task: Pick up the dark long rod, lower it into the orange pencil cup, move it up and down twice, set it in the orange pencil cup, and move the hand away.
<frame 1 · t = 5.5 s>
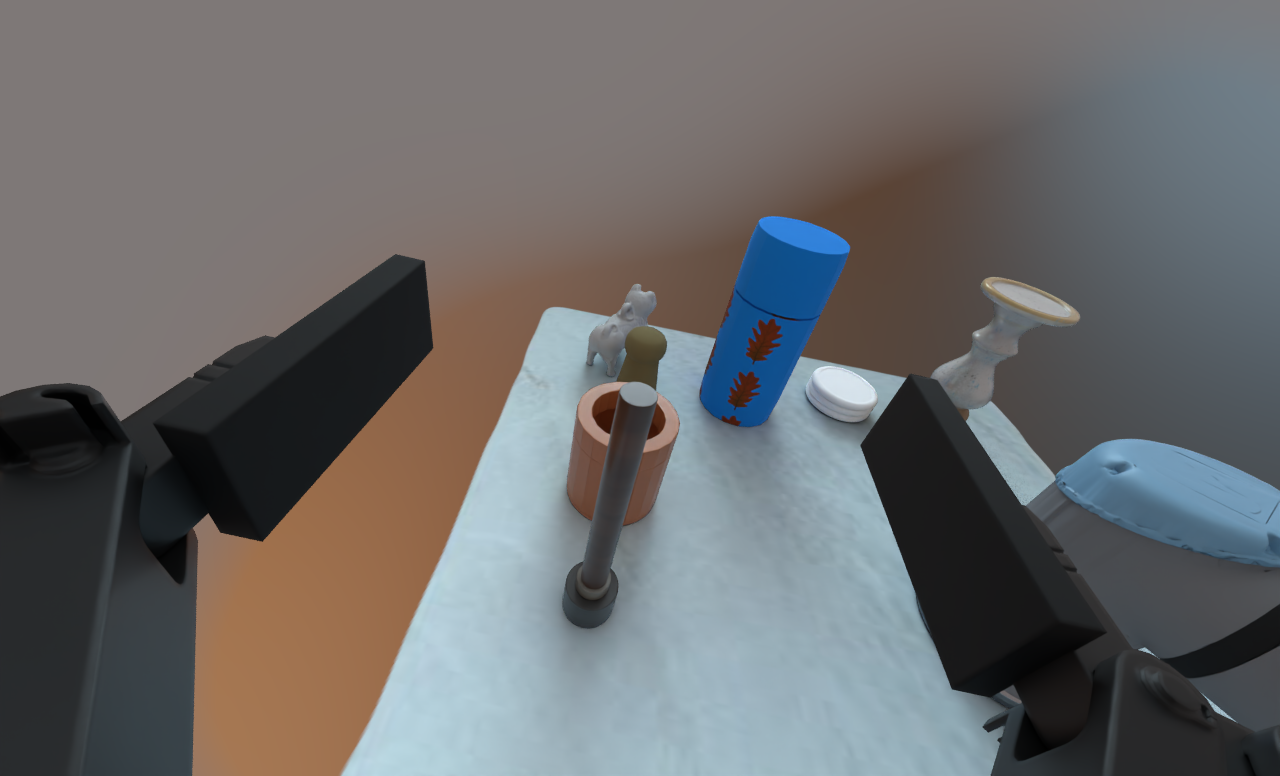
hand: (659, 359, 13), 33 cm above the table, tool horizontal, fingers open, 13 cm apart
dark long rod: (587, 602, 41), on the table
orange pencil cup: (611, 487, 51), on the table
dog figurine: (616, 357, 71), on the table
candle holder: (916, 442, 68), on the table
olive pawn: (632, 401, 63), on the table
coaster: (835, 402, 72), on the table
thermos: (733, 402, 67), on the table
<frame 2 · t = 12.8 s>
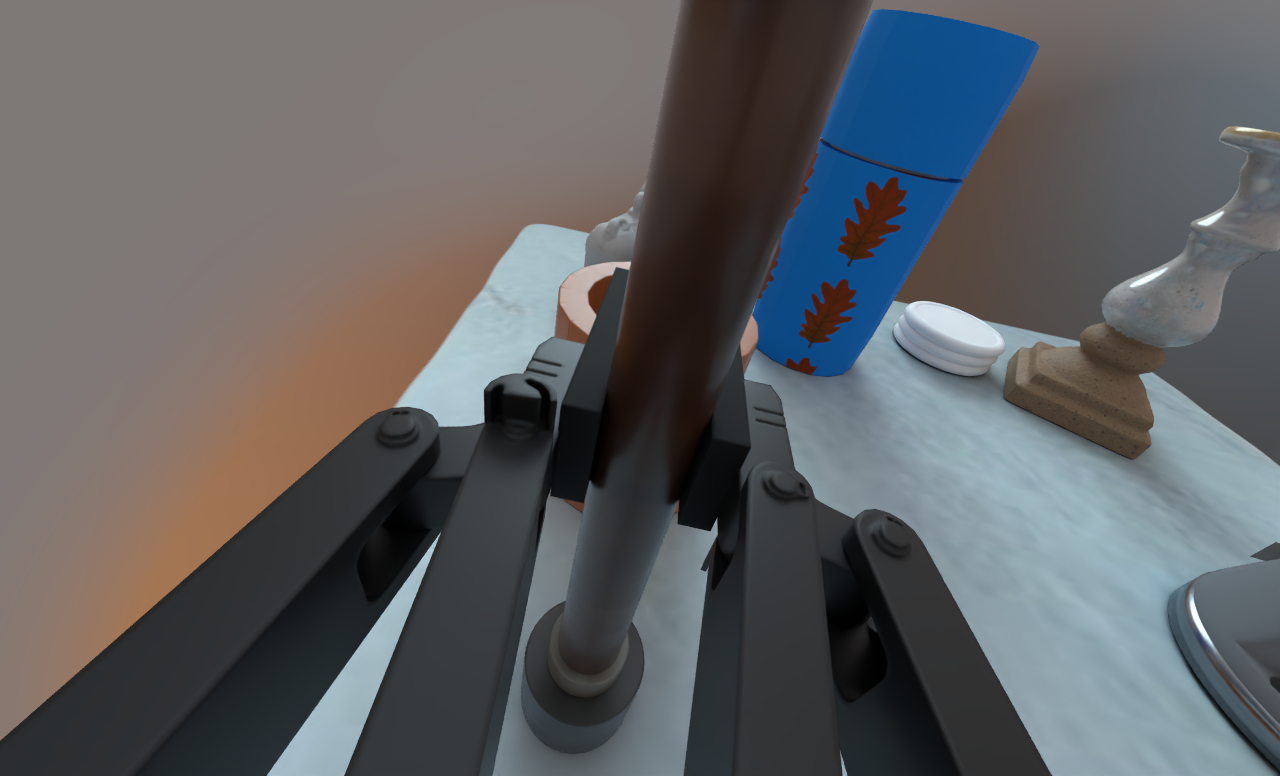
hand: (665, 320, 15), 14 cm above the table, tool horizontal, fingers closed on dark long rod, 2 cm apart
dark long rod: (576, 687, 19), on the table, touching gripper
orange pencil cup: (622, 458, 29), on the table
dog figurine: (626, 283, 49), on the table
candle holder: (1062, 405, 47), on the table
coaster: (936, 351, 51), on the table
thermos: (798, 345, 46), on the table
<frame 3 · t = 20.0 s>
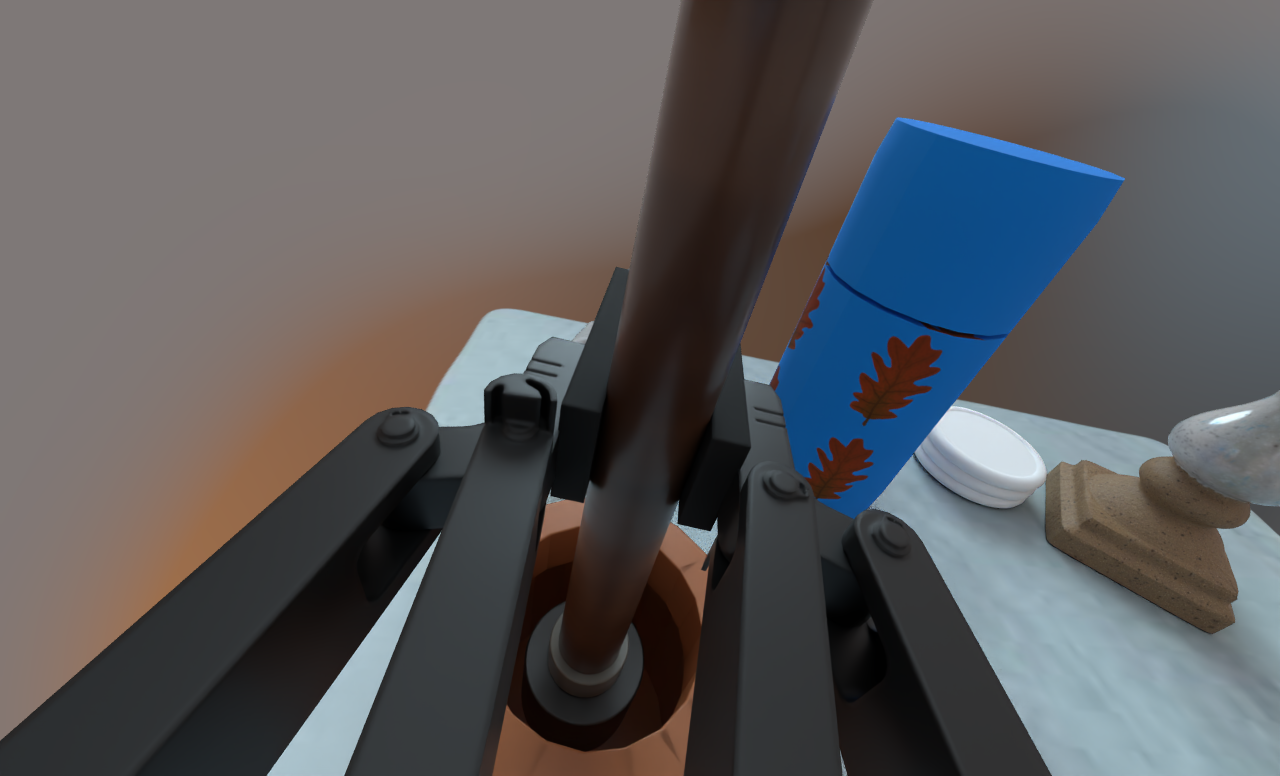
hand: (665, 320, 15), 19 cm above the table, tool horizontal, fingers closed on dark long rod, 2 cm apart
dark long rod: (576, 687, 19), point 5 cm above the table, touching gripper
orange pencil cup: (567, 726, 22), on the table
candle holder: (1115, 543, 39), on the table
coaster: (962, 468, 43), on the table
thermos: (800, 476, 38), on the table
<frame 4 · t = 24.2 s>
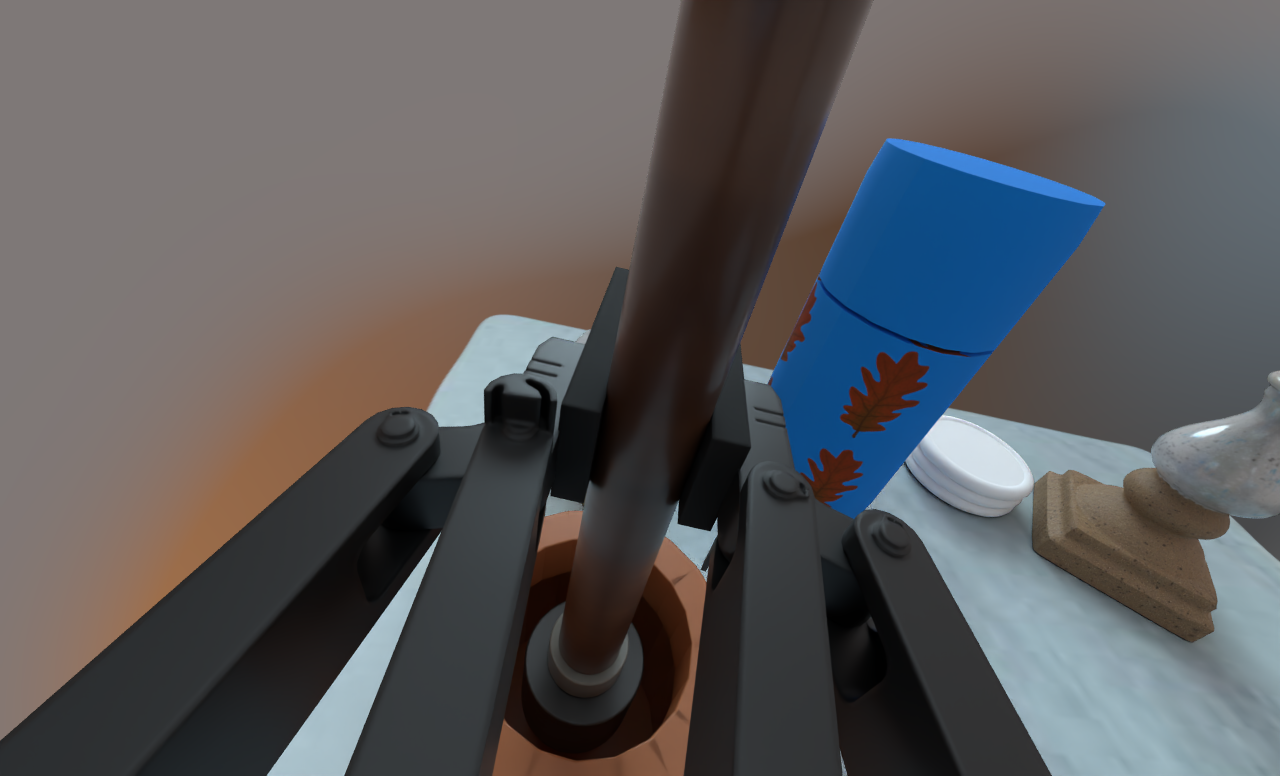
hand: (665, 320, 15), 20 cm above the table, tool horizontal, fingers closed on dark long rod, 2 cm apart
dark long rod: (576, 687, 19), point 6 cm above the table, touching gripper
orange pencil cup: (561, 732, 23), on the table
candle holder: (1100, 552, 40), on the table
coaster: (951, 476, 44), on the table
thermos: (793, 484, 39), on the table
when the fingers open (15 cm above the table, at t = 27.3 s): dark long rod stays where it is, resting on orange pencil cup.
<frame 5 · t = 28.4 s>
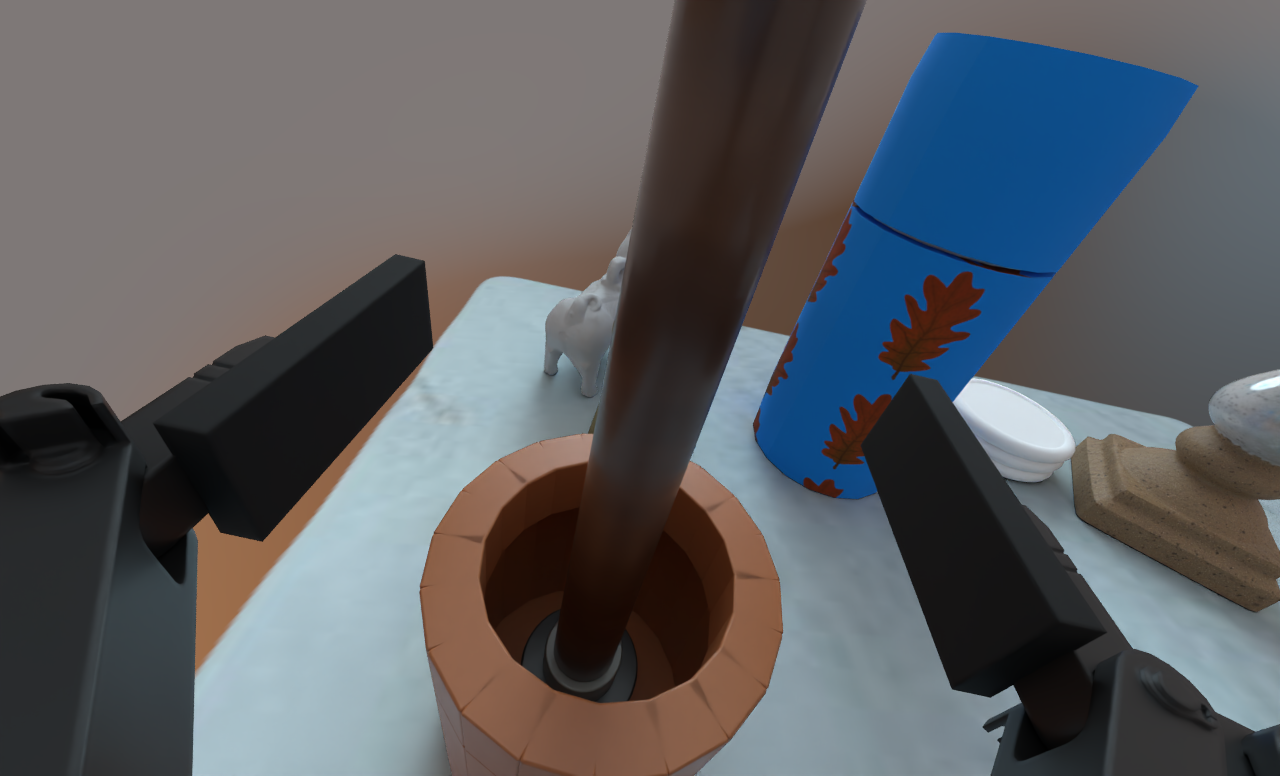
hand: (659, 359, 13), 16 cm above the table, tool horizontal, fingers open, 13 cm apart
dark long rod: (571, 693, 19), point 1 cm above the table, touching orange pencil cup
orange pencil cup: (572, 698, 20), on the table
dog figurine: (601, 360, 40), on the table
candle holder: (1147, 520, 37), on the table
coaster: (983, 442, 41), on the table
thermos: (816, 446, 36), on the table
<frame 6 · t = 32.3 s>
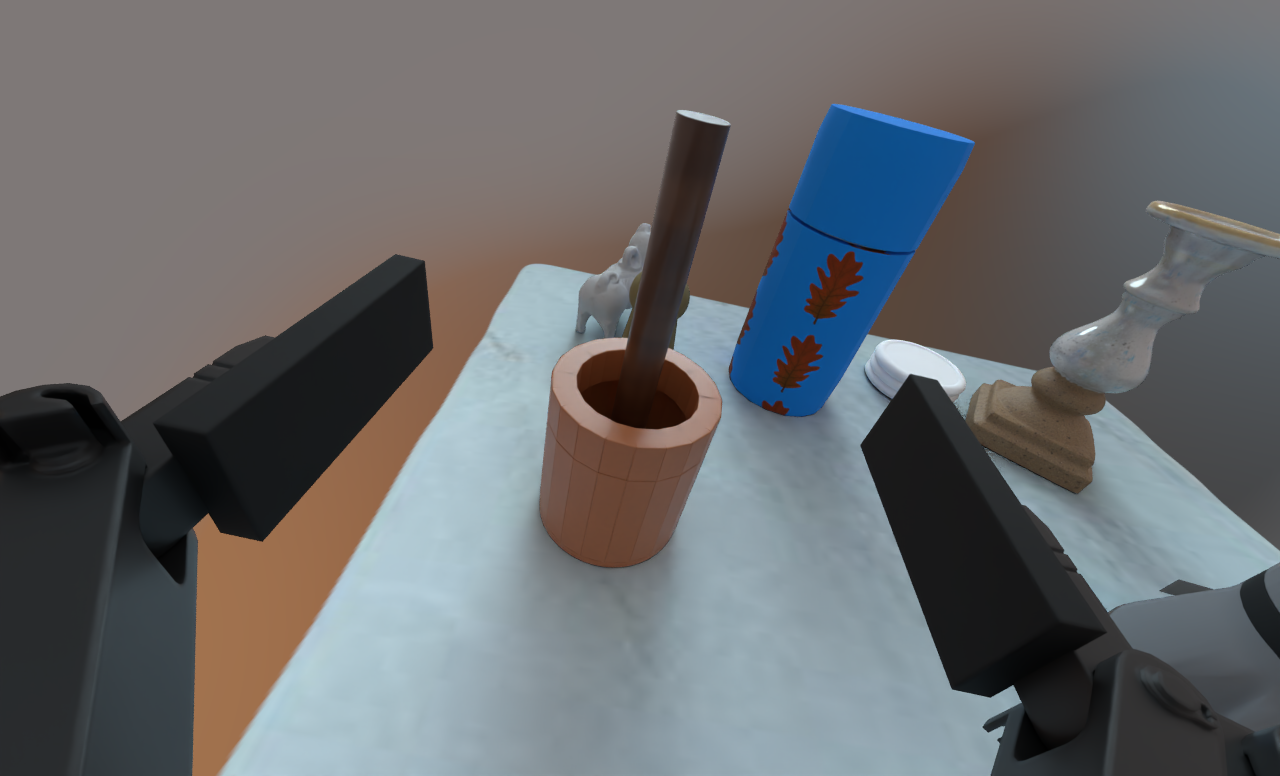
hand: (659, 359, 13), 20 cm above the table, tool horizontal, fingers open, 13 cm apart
dark long rod: (609, 498, 33), point 1 cm above the table, touching orange pencil cup
orange pencil cup: (609, 504, 33), on the table
dog figurine: (616, 324, 53), on the table
candle holder: (1018, 440, 51), on the table
olive pawn: (638, 381, 46), on the table
coaster: (904, 387, 55), on the table
thermos: (775, 384, 50), on the table
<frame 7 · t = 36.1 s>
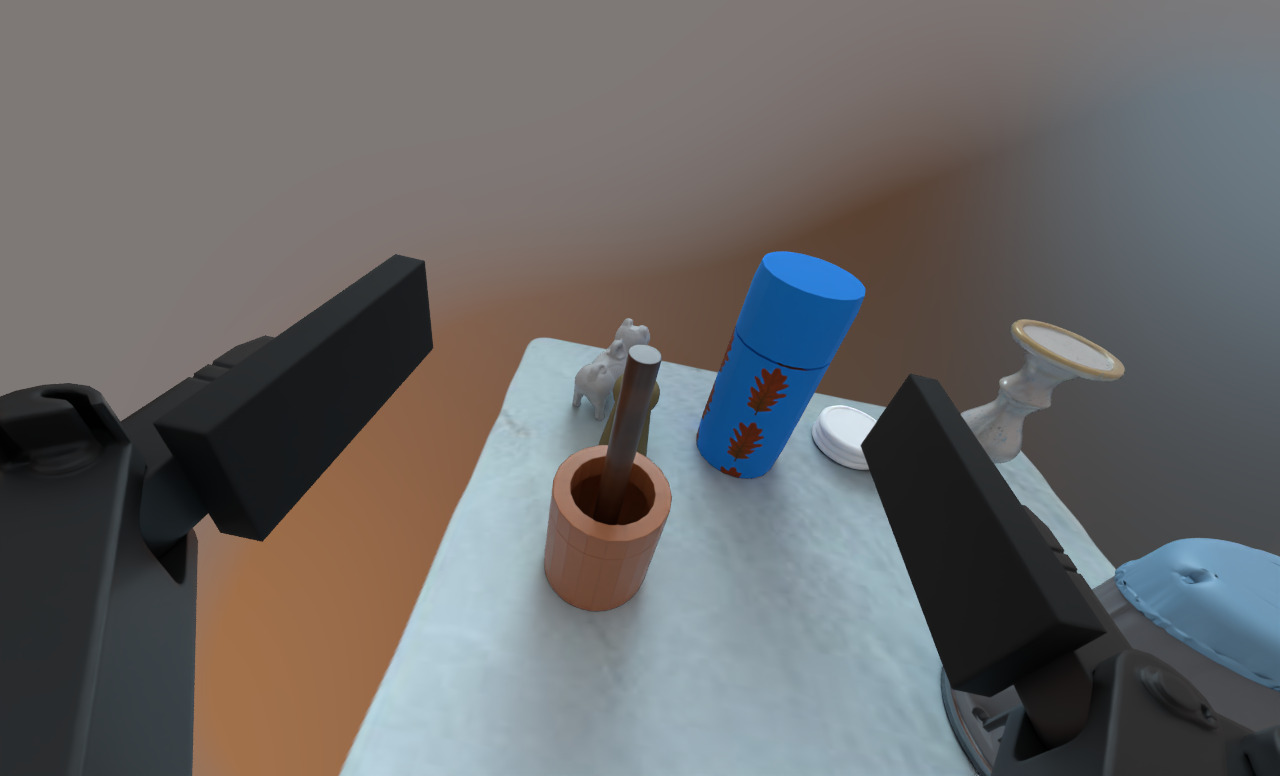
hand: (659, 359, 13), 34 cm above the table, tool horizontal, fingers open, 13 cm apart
dark long rod: (595, 557, 45), point 1 cm above the table, touching orange pencil cup
orange pencil cup: (595, 560, 45), on the table
dog figurine: (606, 396, 65), on the table
candle holder: (933, 492, 62), on the table
olive pawn: (622, 450, 57), on the table
coaster: (844, 446, 66), on the table
thermos: (734, 448, 61), on the table
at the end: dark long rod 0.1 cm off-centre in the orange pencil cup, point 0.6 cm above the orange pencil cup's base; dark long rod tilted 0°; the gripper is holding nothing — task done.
